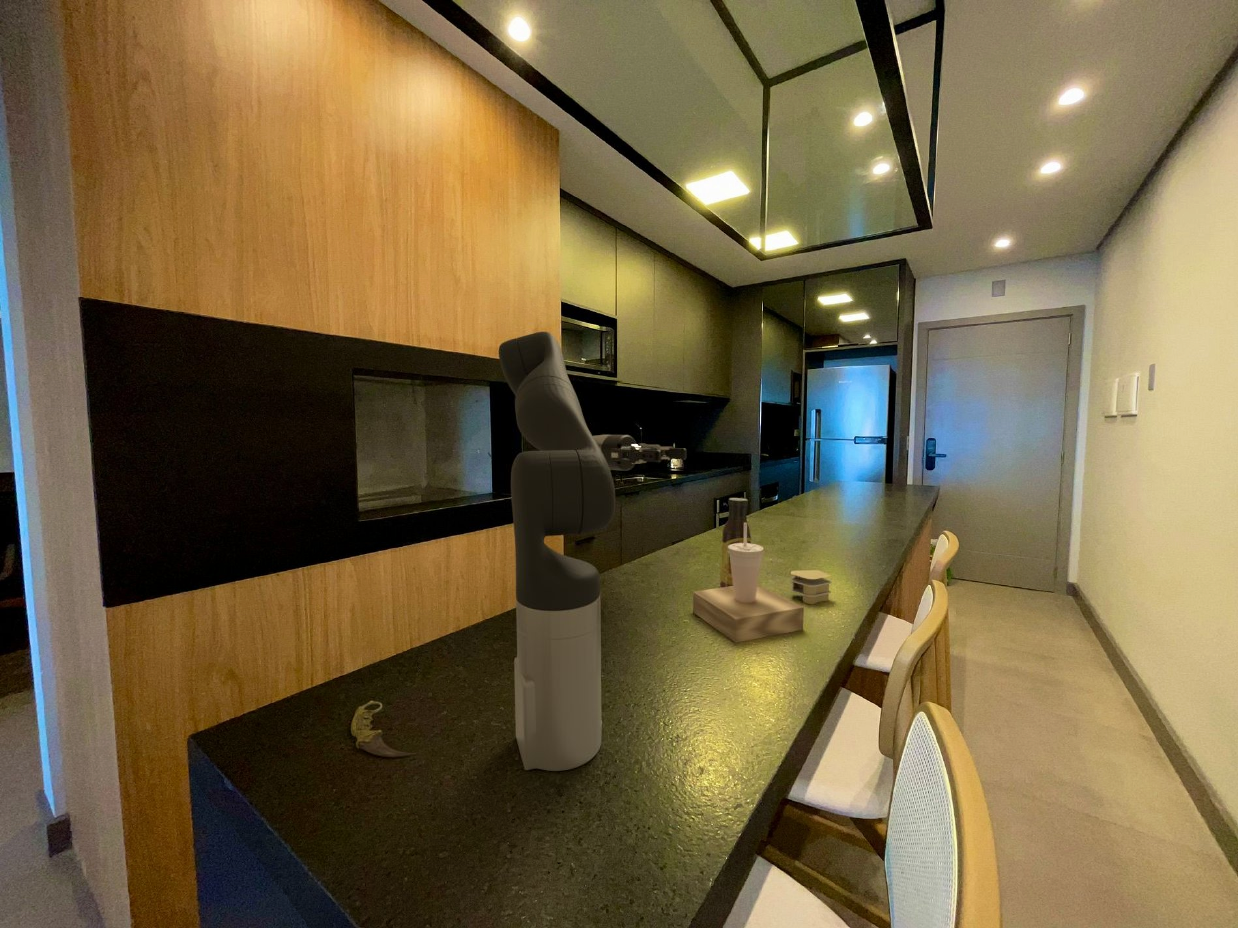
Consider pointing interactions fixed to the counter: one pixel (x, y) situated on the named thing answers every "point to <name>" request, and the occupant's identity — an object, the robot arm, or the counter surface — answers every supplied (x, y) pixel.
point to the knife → (371, 734)
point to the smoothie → (745, 568)
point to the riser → (748, 613)
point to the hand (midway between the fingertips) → (673, 455)
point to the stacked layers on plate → (811, 585)
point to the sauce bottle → (733, 536)
